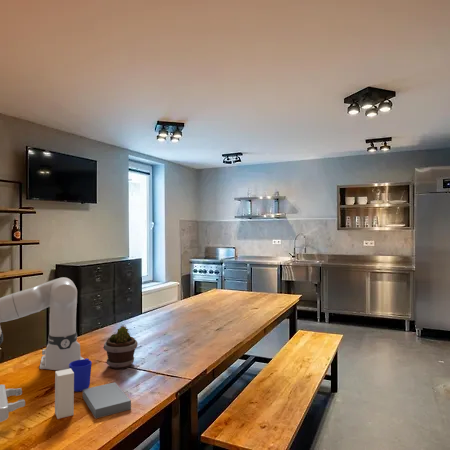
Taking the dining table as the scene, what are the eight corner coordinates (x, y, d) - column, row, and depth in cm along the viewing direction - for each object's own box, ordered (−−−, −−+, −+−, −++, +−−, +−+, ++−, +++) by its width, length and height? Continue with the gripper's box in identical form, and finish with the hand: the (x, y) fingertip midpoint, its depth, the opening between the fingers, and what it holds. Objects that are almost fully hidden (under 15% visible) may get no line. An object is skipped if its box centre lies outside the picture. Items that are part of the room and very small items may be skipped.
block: (54, 412, 127) (55, 371, 127) (70, 408, 130) (70, 368, 130) (57, 418, 123) (57, 376, 123) (73, 414, 126) (74, 373, 126)
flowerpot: (102, 362, 175) (102, 319, 175) (135, 358, 180) (136, 316, 180) (103, 373, 161) (104, 327, 161) (139, 369, 167) (140, 324, 167)
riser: (82, 397, 139) (82, 389, 139) (114, 390, 145) (115, 382, 145) (95, 418, 124) (95, 409, 124) (130, 409, 130) (130, 400, 130)
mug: (97, 380, 154) (97, 355, 154) (87, 393, 142) (87, 366, 142) (76, 380, 154) (77, 356, 154) (65, 393, 142) (65, 367, 142)
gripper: (-29, 404, 121) (20, 394, 129) (-30, 434, 104) (26, 420, 111) (-29, 384, 121) (20, 375, 129) (-30, 411, 104) (26, 398, 111)
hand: (23, 396), depth 120 cm, fingers open, 8 cm apart
